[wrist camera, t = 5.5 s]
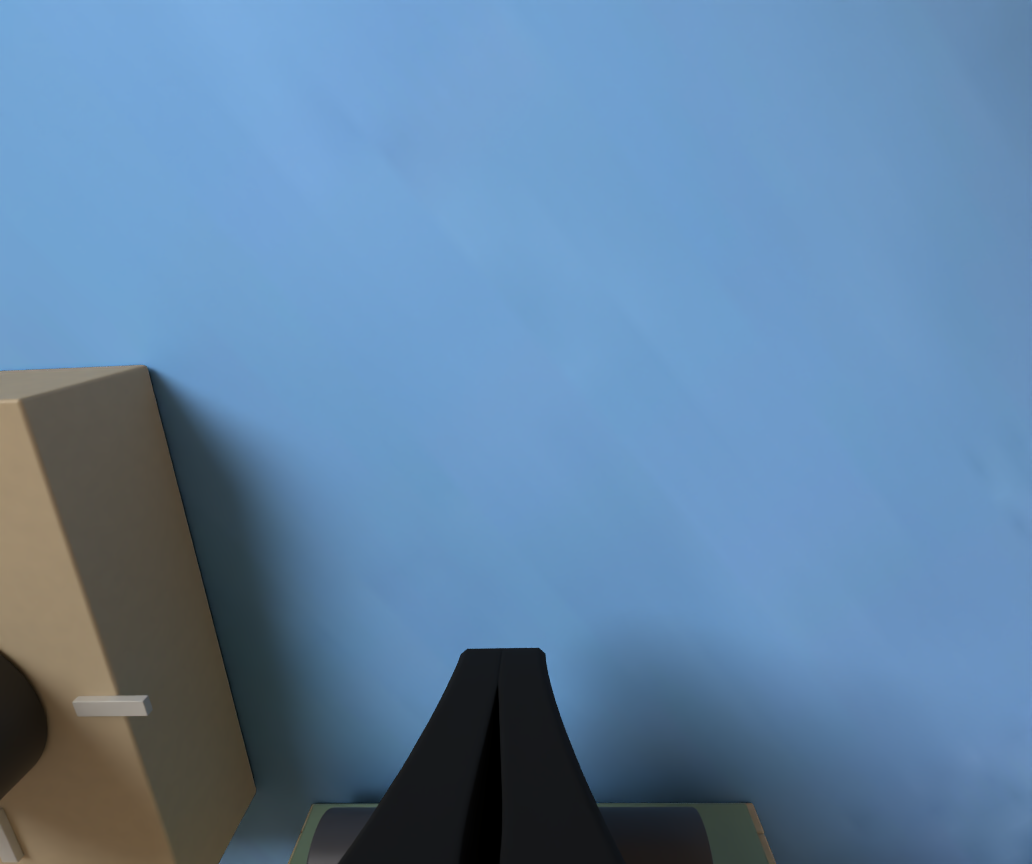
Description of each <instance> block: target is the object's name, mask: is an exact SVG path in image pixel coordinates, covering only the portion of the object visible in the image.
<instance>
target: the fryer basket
mask: <svg viewBox="0 0 1032 864" xmlns="http://www.w3.org/2000/svg"><path fill="white" fill-rule="evenodd" d="M378 804H379V803H371V804H314V805H313V807H312V809H311V812H310V814H309V817H308V819H307V822H306V824H305V826H304V829H303V831H302V834H301V836H300V839H299V841H298V844H297V846H296V848H295V851H294V853H293V856H292V858H291V861H290V863H289V864H338V862H339V861H340V860H341V858H342V857H343V856H344V854H345V853H346V851H347V850H348V849H349V847H350V846H351V844H352V843H353V841H354V840H355V839H356V837H357V836H358V834H359V833H360V831H361V830H362V828H363V827H364V826H365V824H366V823H367V821H368V820H369V818H370V817H371V815H372V814H373V812H374V811H375V809H376V807H377V806H378ZM596 804H597V806H598V808H599V810H600V812H601V814H602V816H603V819H604V821H605V823H606V825H607V827H608V829H609V831H610V833H611V835H612V837H613V839H614V841H615V843H616V845H617V847H618V849H619V851H620V853H621V855H622V857H623V859H624V861H625V863H626V864H769V862H768V860H767V857H766V854H765V852H764V849H763V847H762V844H761V841H760V839H759V836H758V834H757V831H756V828H755V826H754V823H753V821H752V818H751V815H750V813H749V810H748V808H747V805H746V804H745V803H596ZM501 842H502V835H501ZM500 856H501V843H500V854H499V864H500Z"/></svg>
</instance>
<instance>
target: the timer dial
mask: <svg viewBox="0 0 1032 864" xmlns="http://www.w3.org/2000/svg"><path fill="white" fill-rule="evenodd" d="M46 741H47V721H46V716H45V713H44V709H43V706H42V704H41V702H40V700H39V698H38V696H37V694H36V692H35V691H34V689H33V688H32V686H31V684H30V683H29V682H28V681H27V679H26V678H25V677H24V676H23V674H22V673H21V672H20V671H19V670H18V669H17V668H16V667H15V666H14V665H13V664H12V663H11V662H9V661H8V660H7V659H6V658H5V657H4V656H2V655H1V654H0V800H1V799H2V798H3V797H4V796H5V795H6V794H7V793H8V792H9V791H10V790H11V789H12V788H13V787H14V786H15V785H16V784H17V783H18V782H19V781H20V780H21V779H22V778H23V777H24V776H25V775H26V774H27V773H28V772H29V771H30V770H31V769H32V768H33V767H34V766H35V765H36V763H37V762H38V760H39V759H40V757H41V755H42V753H43V751H44V748H45V746H46Z"/></svg>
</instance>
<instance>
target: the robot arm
mask: <svg viewBox="0 0 1032 864" xmlns="http://www.w3.org/2000/svg"><path fill="white" fill-rule="evenodd" d="M501 835H502V842H501ZM500 843H501V856H500V864H626V863H625V861H624V859H623V857H622V855H621V853H620V851H619V849H618V847H617V845H616V843H615V841H614V839H613V837H612V835H611V833H610V831H609V829H608V827H607V825H606V823H605V821H604V819H603V816H602V814H601V812H600V810H599V808H598V806H597V804H596V801H595V799H594V797H593V795H592V793H591V791H590V789H589V786H588V784H587V782H586V779H585V777H584V775H583V773H582V770H581V768H580V765H579V763H578V760H577V758H576V755H575V753H574V750H573V748H572V745H571V743H570V740H569V738H568V735H567V733H566V730H565V727H564V725H563V722H562V719H561V716H560V713H559V710H558V707H557V704H556V701H555V697H554V694H553V691H552V687H551V683H550V679H549V675H548V670H547V665H546V656H545V653H544V652H543V651H542V650H541V649H539V648H496V649H467V650H465V651H464V652H463V653H462V654H461V656H460V658H459V661H458V663H457V666H456V668H455V670H454V672H453V675H452V677H451V679H450V681H449V683H448V685H447V687H446V689H445V691H444V693H443V695H442V697H441V699H440V701H439V703H438V705H437V707H436V709H435V711H434V713H433V715H432V717H431V718H430V720H429V722H428V724H427V725H426V727H425V729H424V731H423V732H422V734H421V736H420V738H419V739H418V741H417V743H416V745H415V746H414V748H413V750H412V752H411V753H410V755H409V757H408V759H407V760H406V762H405V764H404V765H403V767H402V769H401V770H400V772H399V773H398V775H397V776H396V778H395V779H394V781H393V783H392V784H391V786H390V787H389V789H388V790H387V792H386V793H385V795H384V797H383V798H382V800H381V801H380V803H379V804H378V806H377V807H376V809H375V811H374V812H373V814H372V815H371V817H370V818H369V820H368V821H367V823H366V824H365V826H364V827H363V828H362V830H361V831H360V833H359V834H358V836H357V837H356V839H355V840H354V841H353V843H352V844H351V846H350V847H349V849H348V850H347V851H346V853H345V854H344V856H343V857H342V858H341V860H340V861H339V862H338V864H499V854H500Z"/></svg>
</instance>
